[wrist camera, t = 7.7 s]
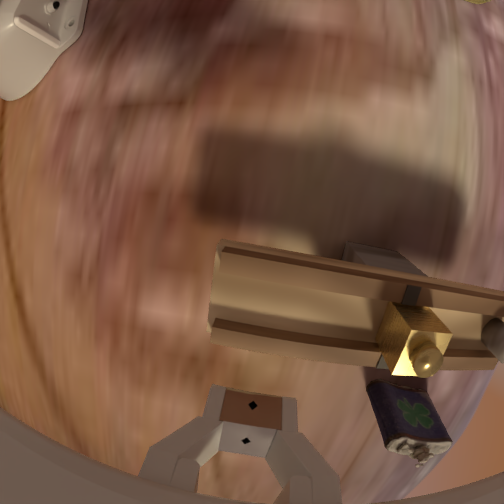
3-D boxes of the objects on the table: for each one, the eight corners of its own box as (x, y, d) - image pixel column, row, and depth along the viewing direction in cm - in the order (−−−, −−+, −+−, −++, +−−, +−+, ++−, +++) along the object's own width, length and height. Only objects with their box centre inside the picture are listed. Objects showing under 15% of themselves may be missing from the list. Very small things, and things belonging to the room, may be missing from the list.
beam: (236, 220, 25) (204, 259, 15) (472, 268, 24) (539, 314, 14) (226, 286, 27) (195, 357, 17) (453, 321, 26) (506, 381, 16)
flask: (431, 390, 29) (462, 453, 19) (417, 407, 30) (443, 470, 19) (373, 375, 29) (399, 450, 18) (359, 394, 29) (378, 469, 19)
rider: (389, 299, 18) (418, 339, 13) (426, 304, 18) (460, 342, 13) (374, 339, 19) (396, 385, 14) (411, 342, 18) (438, 386, 14)
